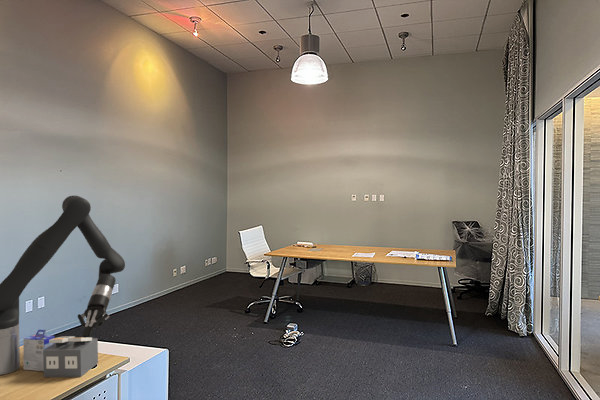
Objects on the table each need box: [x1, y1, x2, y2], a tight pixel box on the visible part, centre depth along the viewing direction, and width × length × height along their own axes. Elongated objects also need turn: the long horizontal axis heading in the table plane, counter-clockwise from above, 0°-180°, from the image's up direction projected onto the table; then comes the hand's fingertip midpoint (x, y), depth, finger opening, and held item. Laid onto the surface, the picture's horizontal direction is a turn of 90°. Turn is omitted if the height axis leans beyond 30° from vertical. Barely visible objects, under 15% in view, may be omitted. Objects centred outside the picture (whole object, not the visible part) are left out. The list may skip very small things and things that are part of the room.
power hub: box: [43, 337, 99, 378], centre depth 153 cm, size 14×12×11 cm
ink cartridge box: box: [22, 329, 55, 372], centre depth 155 cm, size 10×6×14 cm, turn 78°
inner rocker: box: [49, 335, 76, 344], centre depth 153 cm, size 5×8×1 cm, turn 179°
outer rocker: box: [68, 336, 93, 341], centre depth 153 cm, size 5×8×1 cm, turn 179°
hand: (86, 337), depth 157 cm, fingers closed
